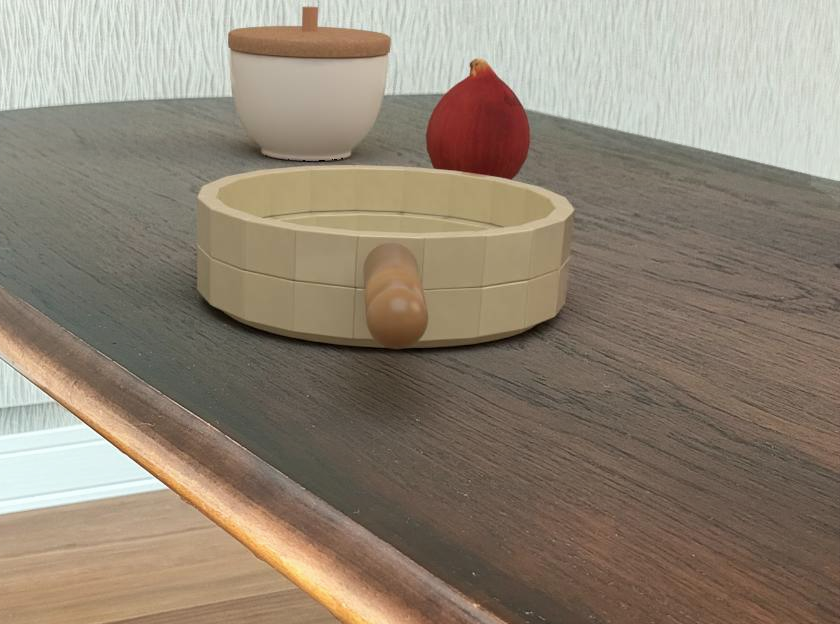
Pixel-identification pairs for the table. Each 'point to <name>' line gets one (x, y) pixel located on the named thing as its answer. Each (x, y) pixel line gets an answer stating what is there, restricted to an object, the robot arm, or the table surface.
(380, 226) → the pan
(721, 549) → the table surface
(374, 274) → the pan handle
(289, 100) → the trinket box
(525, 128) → the onion
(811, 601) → the table surface
